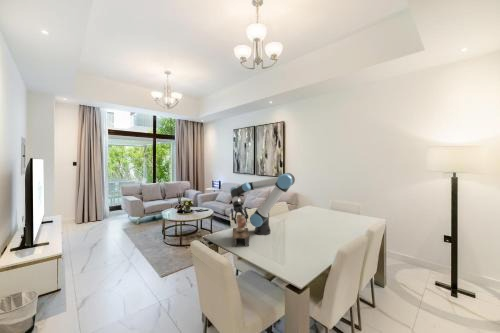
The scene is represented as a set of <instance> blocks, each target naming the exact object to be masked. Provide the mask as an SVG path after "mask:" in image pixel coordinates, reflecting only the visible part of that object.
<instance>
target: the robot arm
mask: <svg viewBox="0 0 500 333" xmlns="http://www.w3.org/2000/svg"><path fill="white" fill-rule="evenodd" d="M295 180H296V179H295V175H293V174H292V173H290V172H286V173H282V174H281V175H278V176H275V177H271V178H266V179H263V180H262V179H261V180H256V181H252V182H251V181H249V182H247V181H246V182H244V183H242V184H241V185H240V186H238V187H237V186H232V187H231V188H230V196H231V201H232V206H233V208H232V207H231V208H230V214H231V221H233V222H234V225H235V226H236V227H237V228H238V223H237V215H238V213H239V214H240V215H245V228H248V227H247V226H248V219H249V223H250V225H252V226H253V227H254V233H255V235H258V236H268V235H270V234H271V227H270V212H271V210H273V208H274V207H275V205H276V204H277V202H278V201H279V200H280V198H281V197H282V196H283V194H285V193H287V192H288V190H289V189H290V188H291V187H292V185H294V184H295ZM271 187H273V189H272V190H271V191H270V193H269V195H268V196H267V197H266V198H265V200H264V201H263V203H262V204H261V206H259V207H257V208H256V210H255V211H254V212H253V213H252V214H251V215H250V217H249V214H248V212H247V208H246V207H243V204H242V200H241V196H242V195H243V194H245V193H247V192H249V191H257V190H260V189H266V188H271ZM234 212H235V213H234ZM236 227H235V228H236Z"/></svg>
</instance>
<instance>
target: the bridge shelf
mask: <svg viewBox="0 0 500 333" xmlns="http://www.w3.org/2000/svg"><path fill="white" fill-rule="evenodd" d="M237 239H244V245H245V247H249V246H250V233H249V228H248V227H245V231H242V232H239V231H237V230H236V227H232V247H237Z"/></svg>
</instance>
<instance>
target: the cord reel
mask: <svg viewBox="0 0 500 333" xmlns="http://www.w3.org/2000/svg"><path fill="white" fill-rule="evenodd" d="M245 216H246V215H242V214H237V215H236V219H237V223H238V228H237V227H235V228H236V230H237V231H239V232H242V231H245V228H246V227H245Z"/></svg>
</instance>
